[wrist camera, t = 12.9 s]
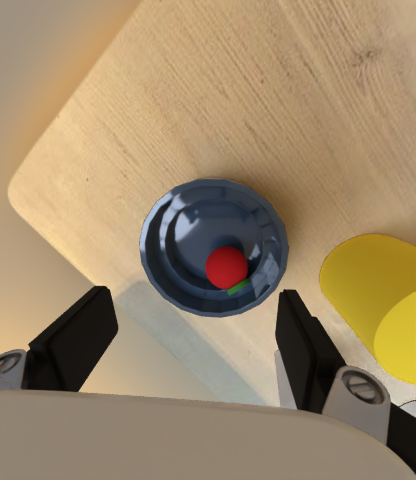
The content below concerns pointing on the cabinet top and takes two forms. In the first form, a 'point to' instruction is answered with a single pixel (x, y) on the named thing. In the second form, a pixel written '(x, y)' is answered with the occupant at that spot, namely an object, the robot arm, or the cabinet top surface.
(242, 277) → the toy tomato
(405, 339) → the yellow toilet paper roll
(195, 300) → the bowl
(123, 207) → the cabinet top surface
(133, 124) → the cabinet top surface
